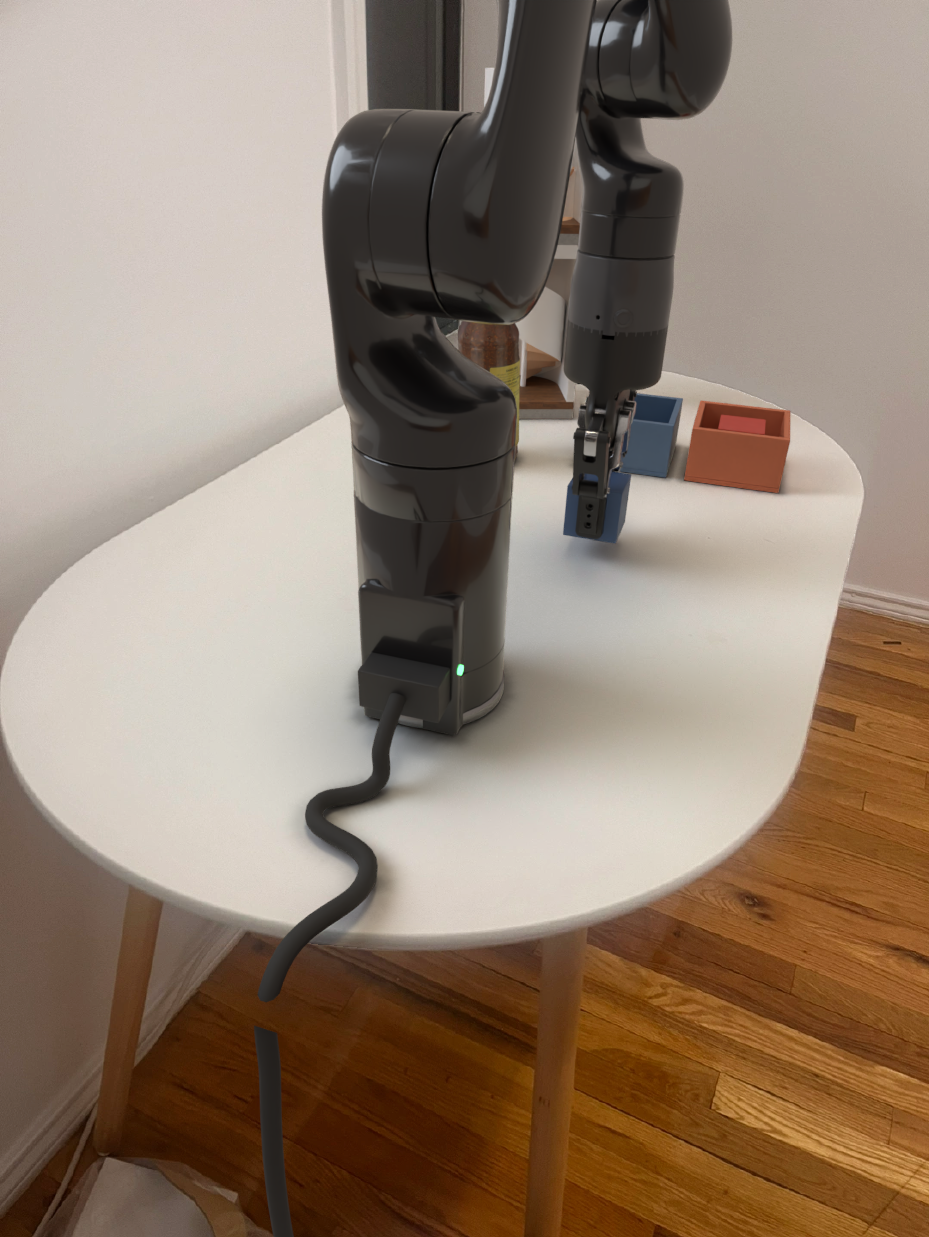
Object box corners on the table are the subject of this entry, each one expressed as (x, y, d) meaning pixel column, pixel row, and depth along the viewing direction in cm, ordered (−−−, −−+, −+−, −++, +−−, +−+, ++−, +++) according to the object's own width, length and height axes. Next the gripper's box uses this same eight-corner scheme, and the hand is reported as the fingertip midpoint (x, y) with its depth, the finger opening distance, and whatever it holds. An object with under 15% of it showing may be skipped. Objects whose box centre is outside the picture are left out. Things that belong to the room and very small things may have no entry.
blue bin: (665, 478, 90) (673, 426, 87) (576, 465, 92) (581, 414, 89) (675, 447, 97) (683, 398, 94) (593, 436, 99) (598, 388, 96)
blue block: (615, 544, 73) (622, 493, 70) (562, 535, 74) (567, 485, 72) (625, 522, 76) (631, 473, 74) (574, 514, 78) (578, 466, 75)
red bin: (778, 493, 87) (790, 440, 84) (683, 480, 89) (692, 428, 86) (779, 460, 94) (790, 410, 92) (692, 449, 97) (700, 400, 94)
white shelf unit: (476, 388, 113) (485, 67, 95) (558, 388, 114) (583, 70, 95) (483, 418, 104) (494, 68, 85) (572, 418, 104) (603, 70, 86)
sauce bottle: (519, 449, 96) (530, 254, 85) (516, 471, 90) (527, 266, 80) (459, 446, 96) (462, 251, 85) (452, 468, 91) (455, 263, 80)
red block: (755, 476, 89) (765, 434, 87) (710, 470, 90) (718, 428, 88) (757, 460, 93) (765, 419, 90) (713, 455, 94) (721, 414, 92)
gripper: (588, 294, 73) (569, 487, 82) (546, 331, 61) (530, 552, 70) (680, 303, 71) (650, 499, 80) (655, 343, 59) (624, 568, 68)
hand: (594, 523), depth 75 cm, fingers closed on blue block, 4 cm apart
